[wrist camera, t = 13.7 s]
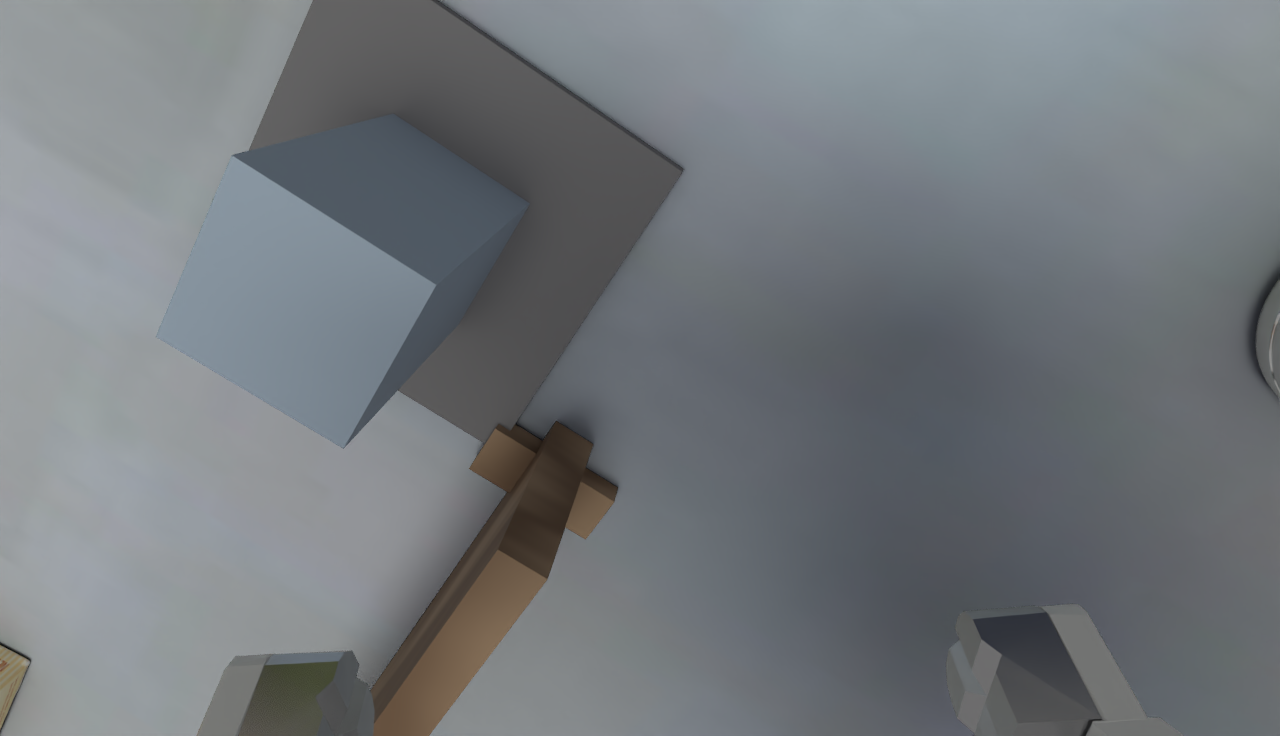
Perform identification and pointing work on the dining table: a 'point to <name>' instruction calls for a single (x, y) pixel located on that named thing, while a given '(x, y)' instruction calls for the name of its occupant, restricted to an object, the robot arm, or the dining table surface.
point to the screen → (492, 573)
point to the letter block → (337, 268)
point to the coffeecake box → (10, 678)
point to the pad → (503, 150)
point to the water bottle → (1270, 339)
